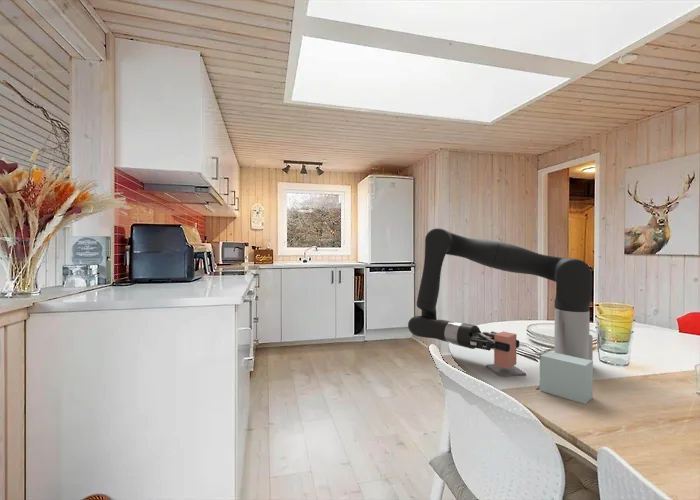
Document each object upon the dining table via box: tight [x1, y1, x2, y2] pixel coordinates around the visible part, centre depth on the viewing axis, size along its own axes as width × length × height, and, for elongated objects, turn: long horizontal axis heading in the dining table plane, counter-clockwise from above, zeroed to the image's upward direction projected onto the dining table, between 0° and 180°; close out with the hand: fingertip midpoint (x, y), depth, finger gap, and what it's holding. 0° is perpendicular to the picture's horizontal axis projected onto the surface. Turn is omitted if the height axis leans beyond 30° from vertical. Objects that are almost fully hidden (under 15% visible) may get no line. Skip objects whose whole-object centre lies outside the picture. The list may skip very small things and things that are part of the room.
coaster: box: [485, 363, 527, 377], centre depth 100 cm, size 8×8×1 cm
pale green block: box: [535, 350, 594, 405], centre depth 85 cm, size 11×6×9 cm, turn 40°
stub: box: [493, 331, 518, 368], centre depth 100 cm, size 4×6×9 cm
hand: (514, 346), depth 98 cm, fingers closed on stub, 5 cm apart
